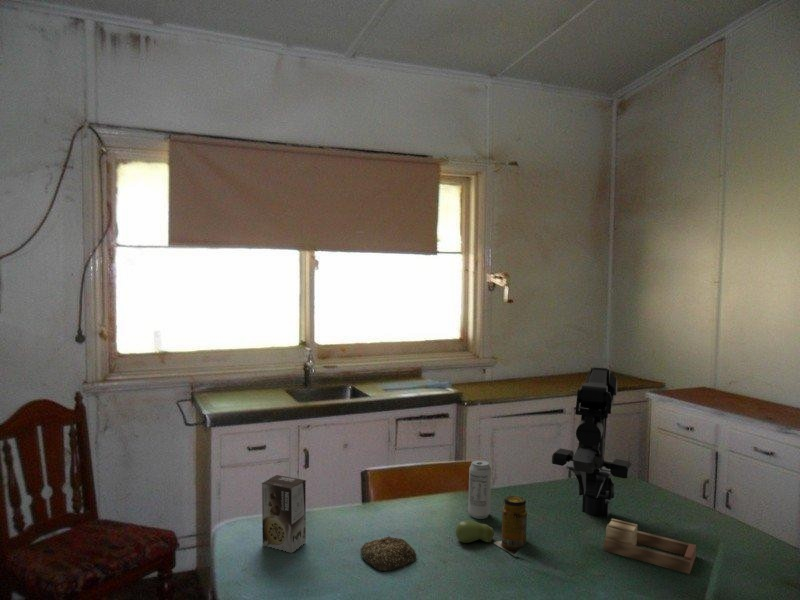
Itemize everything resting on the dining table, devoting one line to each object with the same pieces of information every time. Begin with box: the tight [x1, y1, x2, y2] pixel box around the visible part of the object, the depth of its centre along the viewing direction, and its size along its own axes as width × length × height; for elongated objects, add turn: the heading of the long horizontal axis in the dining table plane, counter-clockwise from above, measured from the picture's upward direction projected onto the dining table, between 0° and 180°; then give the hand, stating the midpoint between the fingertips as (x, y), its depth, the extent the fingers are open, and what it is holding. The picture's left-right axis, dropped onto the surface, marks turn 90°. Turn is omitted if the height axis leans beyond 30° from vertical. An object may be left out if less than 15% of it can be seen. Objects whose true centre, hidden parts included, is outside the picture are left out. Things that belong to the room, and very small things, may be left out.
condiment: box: [493, 495, 528, 558], centre depth 147 cm, size 7×8×12 cm
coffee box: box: [261, 474, 307, 554], centre depth 147 cm, size 9×6×16 cm
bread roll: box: [360, 536, 417, 572], centre depth 142 cm, size 13×12×5 cm
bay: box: [602, 530, 697, 575], centre depth 143 cm, size 19×13×4 cm
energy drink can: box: [467, 459, 492, 520], centre depth 166 cm, size 6×6×15 cm
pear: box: [454, 519, 495, 544], centre depth 151 cm, size 6×5×10 cm
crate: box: [605, 518, 638, 546], centre depth 146 cm, size 6×6×5 cm
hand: (590, 495), depth 150 cm, fingers open, 3 cm apart
